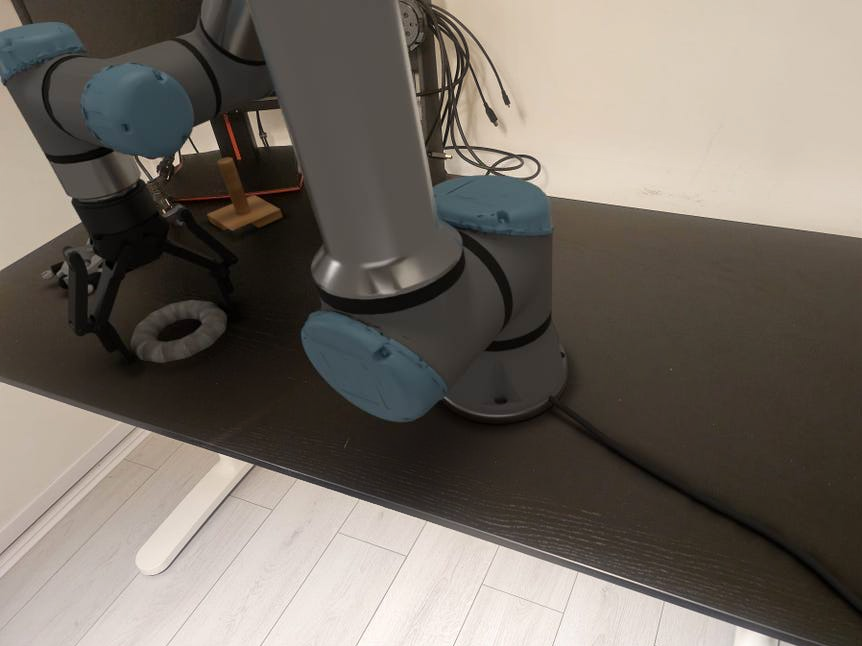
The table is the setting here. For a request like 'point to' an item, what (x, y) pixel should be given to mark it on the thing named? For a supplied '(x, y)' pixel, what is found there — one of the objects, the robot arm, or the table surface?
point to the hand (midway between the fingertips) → (183, 339)
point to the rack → (241, 203)
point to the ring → (162, 352)
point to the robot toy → (63, 268)
